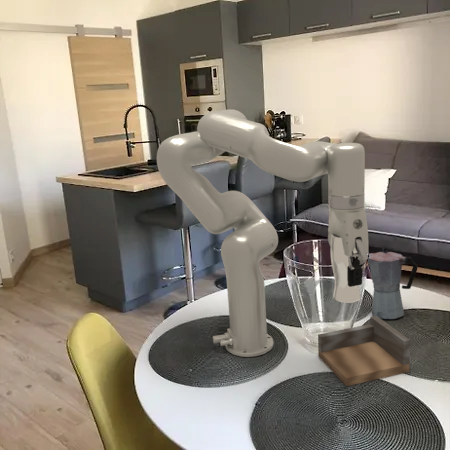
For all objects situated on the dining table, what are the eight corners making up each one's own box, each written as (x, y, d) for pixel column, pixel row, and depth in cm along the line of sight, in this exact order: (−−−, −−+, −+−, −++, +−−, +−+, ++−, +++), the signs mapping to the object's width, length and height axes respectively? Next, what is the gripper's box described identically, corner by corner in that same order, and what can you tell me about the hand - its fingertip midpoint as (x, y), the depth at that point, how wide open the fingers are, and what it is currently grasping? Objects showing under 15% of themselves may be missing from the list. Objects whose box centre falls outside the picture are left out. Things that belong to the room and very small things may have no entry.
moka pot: (369, 302, 155) (369, 239, 149) (421, 312, 146) (423, 246, 141) (357, 315, 147) (356, 249, 142) (411, 326, 138) (413, 256, 133)
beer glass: (363, 304, 111) (364, 238, 107) (331, 303, 112) (330, 238, 108) (362, 292, 117) (362, 229, 114) (331, 291, 119) (330, 229, 115)
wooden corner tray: (346, 386, 113) (346, 353, 111) (318, 356, 126) (317, 327, 124) (409, 371, 117) (410, 340, 115) (375, 344, 130) (376, 315, 128)
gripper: (384, 207, 102) (383, 290, 107) (342, 192, 118) (342, 265, 123) (350, 212, 100) (351, 296, 105) (312, 196, 116) (314, 270, 121)
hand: (346, 279), depth 114 cm, fingers closed on beer glass, 6 cm apart
